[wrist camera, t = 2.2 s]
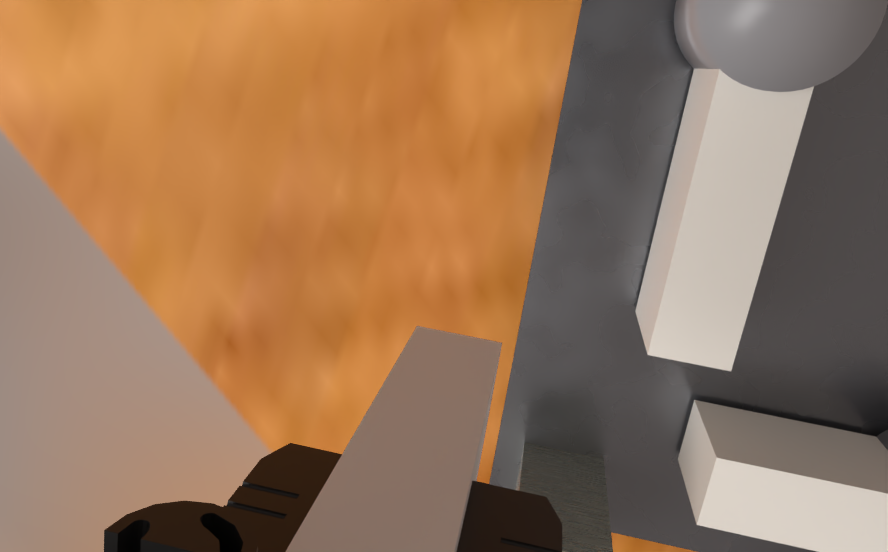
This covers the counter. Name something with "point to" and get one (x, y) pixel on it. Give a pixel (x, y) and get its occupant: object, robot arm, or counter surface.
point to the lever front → (736, 159)
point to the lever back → (786, 480)
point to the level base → (621, 275)
